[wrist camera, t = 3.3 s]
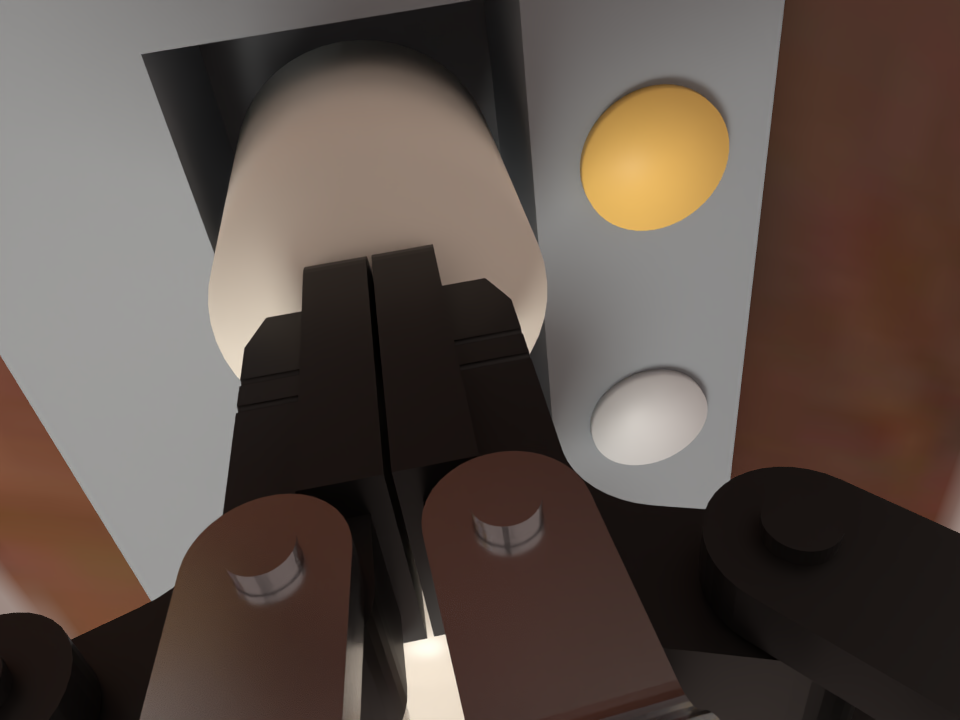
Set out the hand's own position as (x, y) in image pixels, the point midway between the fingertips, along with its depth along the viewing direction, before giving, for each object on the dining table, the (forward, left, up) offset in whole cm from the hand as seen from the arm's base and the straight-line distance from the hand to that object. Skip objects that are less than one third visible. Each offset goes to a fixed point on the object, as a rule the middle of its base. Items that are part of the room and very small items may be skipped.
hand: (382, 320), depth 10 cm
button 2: (0, 0, -4) cm, 4 cm away
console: (+5, 0, -7) cm, 8 cm away
